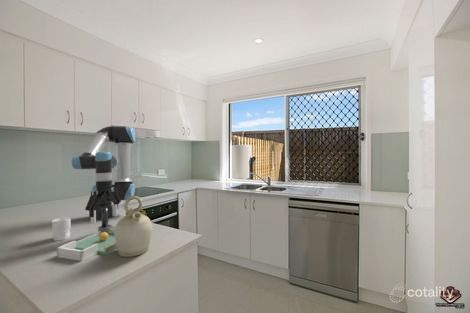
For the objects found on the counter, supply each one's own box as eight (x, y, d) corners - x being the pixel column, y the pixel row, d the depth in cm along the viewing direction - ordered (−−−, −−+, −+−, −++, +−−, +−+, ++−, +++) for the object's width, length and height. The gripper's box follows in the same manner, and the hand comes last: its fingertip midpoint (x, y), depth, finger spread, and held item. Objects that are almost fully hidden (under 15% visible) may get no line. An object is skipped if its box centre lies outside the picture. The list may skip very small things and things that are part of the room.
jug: (151, 255, 92) (149, 197, 92) (110, 261, 88) (109, 200, 87) (153, 241, 107) (152, 191, 106) (119, 245, 102) (118, 193, 102)
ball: (104, 238, 108) (103, 230, 108) (110, 239, 107) (110, 231, 107) (96, 241, 105) (96, 233, 104) (103, 242, 103) (103, 234, 103)
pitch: (107, 231, 122) (107, 226, 122) (142, 235, 115) (142, 230, 115) (66, 248, 100) (65, 242, 100) (106, 254, 93) (106, 248, 93)
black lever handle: (106, 228, 120) (105, 206, 120) (125, 231, 116) (125, 208, 116) (98, 231, 115) (97, 208, 115) (118, 234, 111) (117, 210, 111)
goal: (74, 249, 99) (74, 240, 99) (98, 252, 95) (97, 244, 95) (57, 256, 92) (56, 247, 92) (81, 261, 88) (81, 251, 88)
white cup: (69, 234, 118) (68, 216, 118) (73, 237, 113) (72, 218, 113) (50, 238, 112) (49, 219, 112) (54, 242, 107) (53, 222, 107)
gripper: (117, 177, 130) (117, 212, 130) (76, 183, 106) (76, 226, 106) (127, 178, 127) (127, 213, 128) (87, 183, 104) (88, 227, 104)
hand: (104, 219), depth 117 cm, fingers open, 13 cm apart
